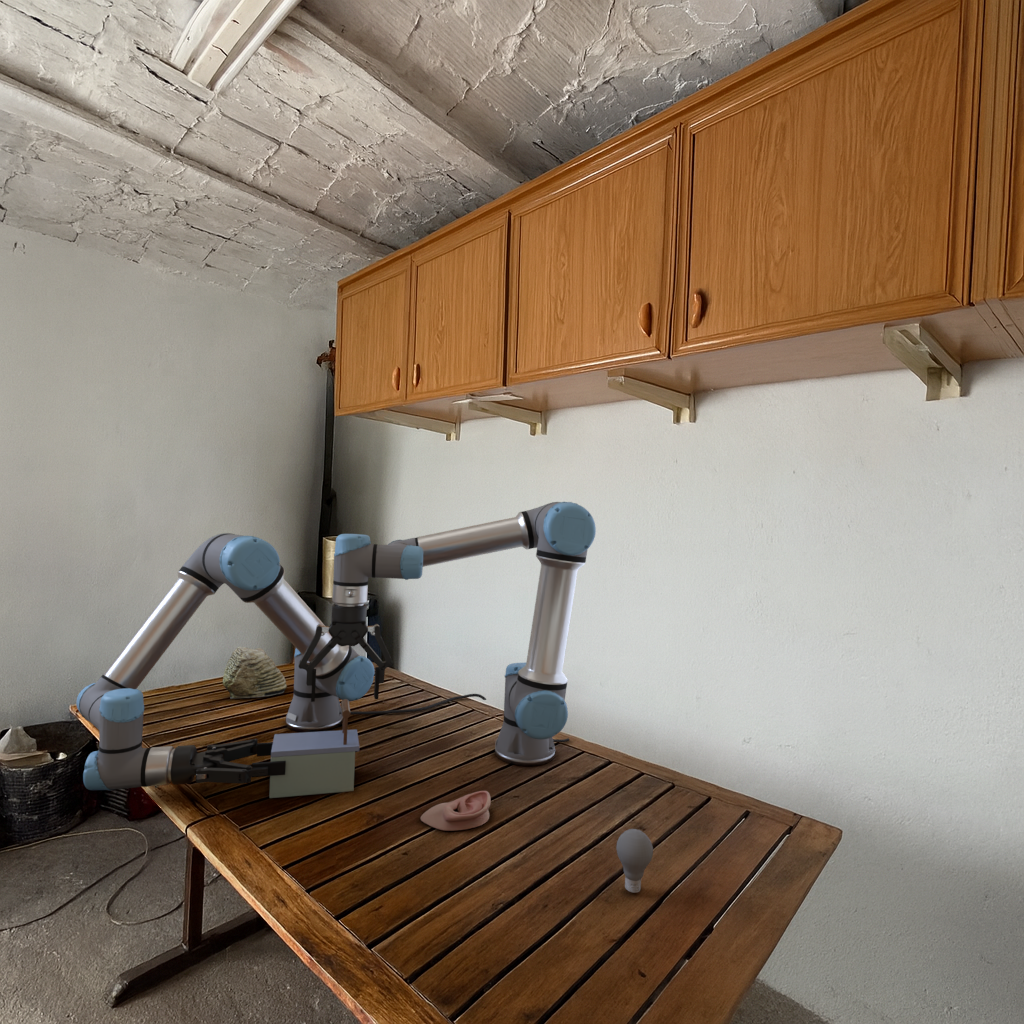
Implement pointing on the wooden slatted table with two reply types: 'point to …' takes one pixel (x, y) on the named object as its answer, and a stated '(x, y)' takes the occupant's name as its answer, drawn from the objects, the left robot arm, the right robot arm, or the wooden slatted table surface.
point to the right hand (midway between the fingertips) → (344, 698)
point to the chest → (314, 774)
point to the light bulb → (634, 857)
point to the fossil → (252, 674)
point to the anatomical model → (459, 812)
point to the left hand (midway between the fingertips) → (286, 757)
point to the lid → (318, 740)
